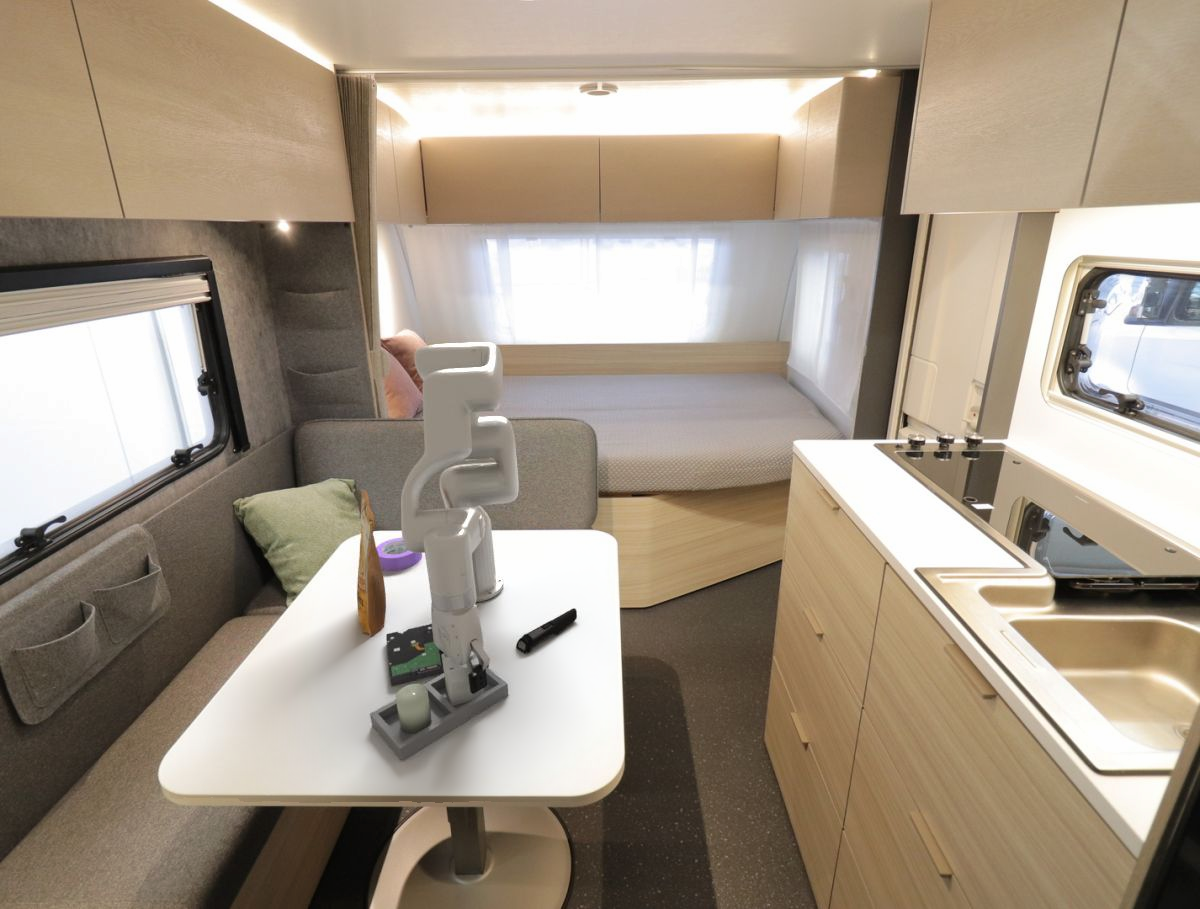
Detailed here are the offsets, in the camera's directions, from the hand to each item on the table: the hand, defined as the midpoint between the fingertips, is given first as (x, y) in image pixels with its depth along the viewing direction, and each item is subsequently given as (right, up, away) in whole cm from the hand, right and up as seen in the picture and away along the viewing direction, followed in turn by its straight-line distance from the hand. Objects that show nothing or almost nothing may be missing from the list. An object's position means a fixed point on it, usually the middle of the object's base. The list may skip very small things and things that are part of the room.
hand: (464, 676), depth 110 cm
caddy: (-3, -5, -2) cm, 7 cm away
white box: (0, -4, +2) cm, 4 cm away
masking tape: (-29, +12, +52) cm, 60 cm away
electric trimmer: (+14, +2, +19) cm, 23 cm away
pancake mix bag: (-26, +4, +27) cm, 37 cm away
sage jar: (-7, -6, -5) cm, 11 cm away
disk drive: (-13, -1, +13) cm, 18 cm away
